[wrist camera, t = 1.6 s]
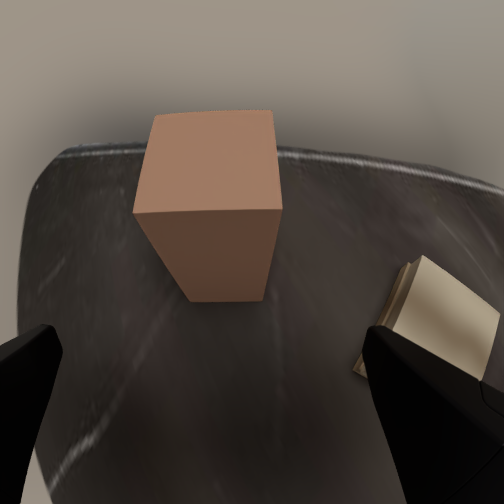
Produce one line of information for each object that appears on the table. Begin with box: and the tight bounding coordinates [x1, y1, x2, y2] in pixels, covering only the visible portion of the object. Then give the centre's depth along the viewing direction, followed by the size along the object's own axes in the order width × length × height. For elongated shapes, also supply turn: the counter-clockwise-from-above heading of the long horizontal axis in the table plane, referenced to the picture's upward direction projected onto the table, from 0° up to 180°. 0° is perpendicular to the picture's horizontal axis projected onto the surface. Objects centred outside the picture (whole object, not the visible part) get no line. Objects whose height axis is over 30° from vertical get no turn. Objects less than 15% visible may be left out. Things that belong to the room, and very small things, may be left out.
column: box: [133, 110, 283, 302], centre depth 16 cm, size 5×5×12 cm
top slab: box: [360, 255, 500, 381], centre depth 17 cm, size 9×9×2 cm
